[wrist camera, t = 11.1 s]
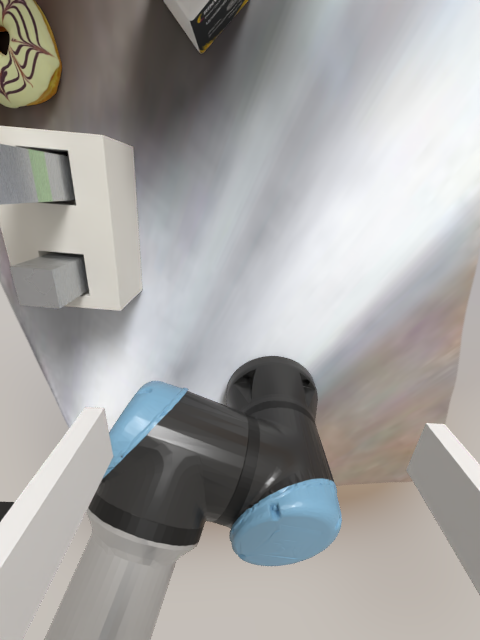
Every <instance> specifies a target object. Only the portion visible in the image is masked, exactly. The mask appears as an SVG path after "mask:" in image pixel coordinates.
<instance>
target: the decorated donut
mask: <svg viewBox="0 0 480 640" xmlns="http://www.w3.org/2000/svg"><path fill="white" fill-rule="evenodd" d="M4 31H7V32H8V33H9V35H10V43H9V48H8V53H7V55H4V54H3V53H2V52H1V51H0V103H1V104H2V105H4V106H7V107H10V108H18V107H20V106H31V105H37V104H40V103H43V102H45V101H47V100H49V99H50V98H51V97H52V96H53V95H55V94H56V92H57V86H58V84H59V80H60V76H61V71H62V63H61V60H60V56H59V52H58V49H57V45H56V42H55V39H54V35H53V32H52V30H51V28H50V25H49V23H48V21H47V19H46V17H45V15H44V14H43V12H42V10H41V8H40V7H39V6H38V4H37V3H36V2H35V0H0V32H4Z"/></svg>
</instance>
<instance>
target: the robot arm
mask: <svg viewBox="0 0 480 640" xmlns="http://www.w3.org/2000/svg"><path fill="white" fill-rule="evenodd" d="M317 401H318V396H317V390H316V387H315V384H314V381H313V379H312V377H311V375H310V373H309V372H308V371H307V370H306V369H305V368H304V367H303V366H302V365H300V364H299V363H297V362H295V361H293V360H291V359H288V358H284V357H278V356H267V357H261V358H257V359H254V360H251V361H249V362H247V363H245V364H244V365H242V366H241V367H240V368H239V369H238V370H236V372H235V373H234V374H233V375H232V377H231V379H230V381H229V383H228V387H227V397H226V402H227V406H225V405H222V404H220V403H217V402H215V401H212V400H209V399H207V398H204V397H202V396H199V395H196V394H194V393H191V392H189V391H188V389H187V388H183V389H182V388H179V387H176V386H173V385H170V384H167V383H164V382H161V381H151V382H148V383H146V384H145V385H143V386H142V387H141V388H140V389H139V390H138V391H137V393H136V394H135V395H134V397H133V398H132V399H131V401H130V402H129V404H128V405H127V407H126V408H125V409H124V411H123V412H122V414H121V415H120V417H119V418H118V420H117V421H116V423H115V424H114V426H113V427H112V429H111V431H110V432H109V430H108V425H107V420H106V414H105V409H104V408H96V407H85V408H84V409H83V411H82V412H81V414H80V415H79V416H78V418H77V419H76V420H75V422H74V423H73V424H72V426H71V427H70V428H69V430H68V431H67V433H66V434H65V435H64V437H63V438H62V439H61V441H60V442H59V443H58V445H57V446H56V447H55V449H54V450H53V451H52V453H51V454H50V456H49V457H48V458H47V460H46V461H45V462H44V464H43V465H42V466H41V468H40V469H39V470H38V472H37V473H36V475H35V476H34V477H33V478H32V480H31V481H30V483H29V484H28V485H27V487H26V488H25V489H24V491H23V492H22V493H21V495H20V496H19V498H18V499H17V500H16V501H15V502H0V640H23V638H24V636H25V634H26V632H27V630H28V628H29V626H30V624H31V622H32V620H33V618H34V616H35V614H36V612H37V610H38V608H39V606H40V604H41V602H42V600H43V598H44V596H45V594H46V592H47V590H48V588H49V586H50V584H51V582H52V580H53V578H54V576H55V574H56V571H57V569H58V567H59V565H60V563H61V561H62V559H63V557H64V555H65V553H66V551H67V549H68V547H69V545H70V543H71V541H72V539H73V537H74V535H75V533H76V531H77V529H78V527H79V525H80V523H81V521H82V519H83V517H84V515H85V513H86V511H87V514H88V517H89V520H90V523H91V526H92V534H91V536H90V539H89V541H88V543H87V545H86V548H85V550H84V552H83V554H82V557H81V559H80V561H79V563H78V565H77V568H76V570H75V572H74V574H73V577H72V579H71V581H70V583H69V586H68V588H67V590H66V592H65V594H64V597H63V599H62V601H61V603H60V606H59V608H58V610H57V613H56V615H55V617H54V619H53V621H52V623H51V626H50V628H49V630H48V632H47V635H46V637H45V639H44V640H150V639H151V636H152V633H153V630H154V627H155V624H156V621H157V618H158V615H159V612H160V609H161V606H162V603H163V600H164V597H165V594H166V591H167V588H168V585H169V581H170V578H171V575H172V573H173V570H174V567H175V563H176V561H177V560H178V558H180V557H181V556H182V555H184V554H186V553H187V552H189V551H190V550H192V549H194V548H195V547H196V546H197V544H198V542H199V539H200V536H201V533H202V530H203V527H204V523H205V522H206V521H210V522H214V523H217V524H220V525H223V526H227V527H229V528H231V531H230V541H231V542H232V548H233V550H234V552H235V553H236V554H238V556H239V557H240V558H241V559H242V560H244V561H246V562H248V563H251V564H255V565H261V566H281V565H288V564H293V563H297V562H300V561H303V560H306V559H309V558H311V557H313V556H315V555H317V554H318V553H320V552H322V551H323V550H325V549H326V548H327V547H328V546H329V545H330V544H331V543H332V542H333V541H334V540H335V538H336V537H337V535H338V533H339V531H340V527H341V521H342V519H341V511H340V507H339V502H338V498H337V489H336V485H335V483H334V480H333V477H332V474H331V471H330V468H329V465H328V462H327V459H326V456H325V452H324V449H323V446H322V443H321V440H320V437H319V434H318V431H317V428H316V424H315V418H316V410H317ZM407 472H408V474H409V475H410V477H411V479H412V480H413V482H414V484H415V486H416V487H417V489H418V491H419V492H420V494H421V496H422V497H423V499H424V501H425V503H426V504H427V506H428V508H429V509H430V511H431V513H432V514H433V516H434V518H435V520H436V521H437V523H438V525H439V526H440V528H441V530H442V532H443V533H444V535H445V537H446V538H447V540H448V542H449V543H450V545H451V547H452V549H453V550H454V552H455V554H456V555H457V557H458V559H459V560H460V562H461V564H462V566H463V567H464V569H465V571H466V572H467V574H468V576H469V577H470V579H471V581H472V583H473V584H474V586H475V588H476V590H477V591H478V593H479V595H480V464H479V463H478V462H477V461H476V460H475V459H474V457H473V456H472V455H471V454H470V453H469V452H468V451H467V449H466V448H465V447H464V446H463V445H462V444H461V443H460V441H459V440H458V439H457V438H456V437H455V436H454V434H453V433H452V432H451V431H450V430H449V429H448V428H447V426H446V425H445V424H431V423H426V425H425V427H424V429H423V432H422V434H421V436H420V439H419V441H418V444H417V446H416V448H415V451H414V453H413V455H412V458H411V460H410V463H409V465H408V467H407Z"/></svg>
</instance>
